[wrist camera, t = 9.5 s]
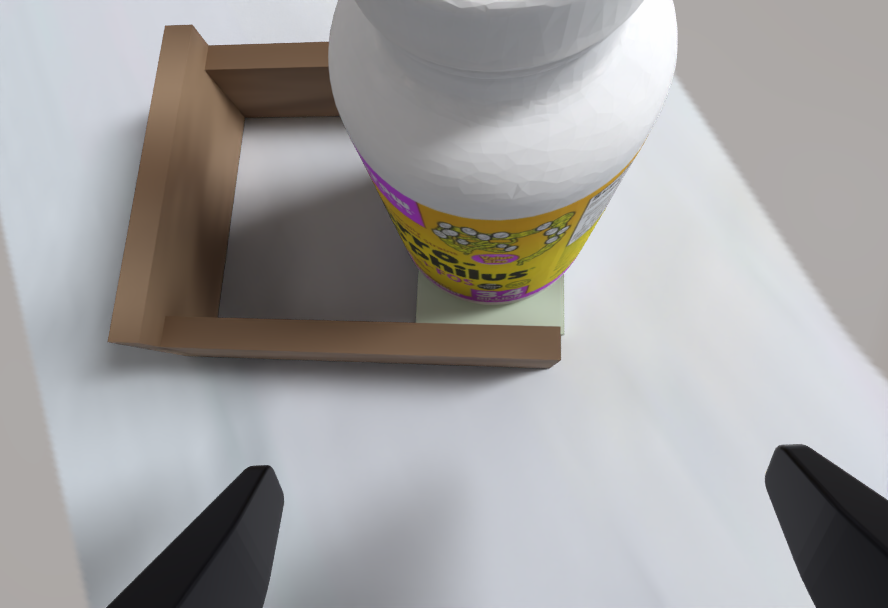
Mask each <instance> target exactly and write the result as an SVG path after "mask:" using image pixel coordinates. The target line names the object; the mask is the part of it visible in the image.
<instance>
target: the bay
mask: <svg viewBox="0 0 888 608" xmlns="http://www.w3.org/2000/svg"><path fill="white" fill-rule="evenodd" d="M328 51H329V42H305V43H273V44H241V45H208V44H207V43H206V42H205V40H204V39H203V38H202V36H201V35H200V34H199V33H198V31H197V30H196V29H195V27H194V26H193V25H171V26H165V29H164V34H163V40H162V45H161V51H160V56H159V62H158V67H157V73H156V78H155V84H154V89H153V95H152V100H151V106H150V111H149V117H148V122H147V128H146V133H145V139H144V144H143V150H142V155H141V161H140V166H139V172H138V177H137V183H136V188H135V194H134V199H133V205H132V210H131V216H130V221H129V227H128V232H127V238H126V243H125V249H124V254H123V260H122V265H121V271H120V276H119V282H118V287H117V293H116V298H115V304H114V309H113V315H112V320H111V326H110V331H109V337H108V342H110V343H116V344H122V345H127V346H133V347H139V348H144V349H150V350H155V351H161V352H167V353H172V354H178V355H184V356H199V357H228V358H257V359H286V360H315V361H344V362H373V363H403V364H432V365H461V366H490V367H519V368H548V369H549V368H551V367H552V366H553V365H555V364H556V363H558V362H559V361H560V360H561V335H564V274H563V275H562V276H561V277H560V278H559V279H558V280H557V281H556V282H555V283H553V284H552V285H551V286H550V287H548V288H547V289H545V290H544V291H542V292H540V293H538V294H536V295H534V296H532V297H530V298H527V299H524V300H521V301H518V302H514V303H509V304H501V305H483V304H476V303H471V302H468V301H464V300H461V299H458V298H456V297H453V296H451V295H449V294H447V293H445V292H444V291H442V290H441V289H439V288H438V287H436V286H435V285H434V284H432V283H431V282H430V281H429V280H428V279H427V278H426V277H425V276H424V275H423V274H422V273H421V271H420V270H419V269H418V288H417V306H416V323H408V322H369V321H331V320H292V319H254V318H217V317H218V310H219V303H220V295H221V288H222V281H223V274H224V266H225V259H226V252H227V245H228V237H229V230H230V223H231V216H232V208H233V201H234V194H235V187H236V179H237V172H238V165H239V158H240V150H241V143H242V136H243V128H244V121H245V118H256V117H318V116H340V114H339V112H338V109H337V107H336V104H335V100H334V96H333V93H332V87H331V82H330V75H329V62H328Z"/></svg>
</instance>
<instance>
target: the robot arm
mask: <svg viewBox="0 0 888 608" xmlns="http://www.w3.org/2000/svg"><path fill="white" fill-rule="evenodd" d="M765 485H766V489H767V492H768V495H769V497H770V500H771V502H772V505H773V507H774V510H775V513H776V515H777V518H778V520H779V523H780V525H781V528H782V531H783V533H784V536H785V538H786V541H787V544H788V546H789V549H790V551H791V554H792V556H793V559H794V562H795V564H796V566H797V569H798V571H799V574H800V576H801V578H802V580H803V582H804V584H805V587H806V589H807V591H808V593H809V595H810V597H811V599H812V601H813V603H814V605H815V607H816V608H888V500H887V499H885V498H884V497H882V496H881V495H879V494H878V493H876V492H875V491H874V490H872V489H871V488H869V487H868V486H866V485H865V484H863V483H862V482H860V481H859V480H857V479H856V478H854V477H853V476H851V475H850V474H848V473H847V472H845V471H844V470H843V469H841V468H840V467H838V466H837V465H835V464H834V463H832V462H831V461H829V460H828V459H826V458H825V457H823V456H822V455H820V454H819V453H817V452H816V451H814V450H813V449H811V448H810V447H808V446H806V445H802V444H790V445H779V446H778V447H777V448H776V449H775V451H774V453H773V456H772V458H771V461H770V464H769V466H768V469H767V472H766V475H765ZM283 506H284V494H283V491H282V488H281V486H280V484H279V481H278V479H277V477H276V474H275V472H274V470H273V468H272V467H271V466H269V465H259V466H250V467H248V468H246V469H245V470H244V471H243V472H242V473H241V474H240V475H239V476H238V477H237V478H236V479H235V480H234V481H233V482H232V483H231V484H230V485H229V486H228V487H227V488H226V489H225V490H224V491H223V492H222V493H221V494H220V495H219V496H218V497H217V498H216V499H215V500H214V501H213V502H212V503H211V504H210V505H209V506H208V507H207V508H206V509H205V510H204V511H203V512H202V513H201V514H200V515H199V516H198V517H197V518H196V519H195V520H194V521H193V522H192V523H191V524H190V525H189V526H188V527H187V528H186V529H185V530H184V531H183V532H182V533H181V534H180V535H179V536H178V537H177V538H176V539H175V540H174V541H173V542H172V543H171V544H170V545H169V546H168V547H167V548H166V549H165V550H164V551H163V552H162V553H161V554H160V555H158V556H157V557H156V558H155V559H154V560H153V561H152V562H151V563H150V564H149V565H148V566H147V567H146V568H145V569H144V570H143V571H142V572H141V573H140V574H139V575H138V576H137V577H136V578H135V579H134V580H133V581H132V582H131V583H130V584H129V585H128V586H127V587H126V588H125V589H124V590H123V591H122V592H121V593H120V594H119V595H118V596H117V597H116V598H115V599H114V600H113V601H112V602H111V603H110V604H109V605H108V606H107V607H106V608H263V604H264V601H265V597H266V593H267V589H268V585H269V580H270V576H271V571H272V565H273V560H274V554H275V549H276V544H277V538H278V533H279V528H280V522H281V517H282V512H283Z"/></svg>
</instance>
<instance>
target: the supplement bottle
mask: <svg viewBox="0 0 888 608" xmlns="http://www.w3.org/2000/svg"><path fill="white" fill-rule="evenodd" d="M676 58H677V23H676V15H675V8H674V5H673V0H338V3H337V6H336V9H335V12H334V16H333V21H332V25H331V30H330V37H329V51H328V62H329V75H330V82H331V87H332V93H333V96H334V100H335V104H336V107H337V109H338V112H339V114H340V117H341V119H342V121H343V124H344V126H345V129H346V130H347V132H348V134H349V136H350V139H351V141H352V142H353V144H354V146H355V148H356V150H357V152H358V154H359V156H360V158H361V160H362V162H363V164H364V166H365V168H366V170H367V171H368V173H369V175H370V177H371V179H372V181H373V183H374V185H375V187H376V189H377V191H378V193H379V195H380V197H381V199H382V201H383V203H384V205H385V208H386V209H387V211H388V213H389V215H390V217H391V219H392V221H393V223H394V225H395V227H396V229H397V231H398V233H399V235H400V237H401V239H402V241H403V243H404V245H405V247H406V249H407V251H408V253H409V255H410V256H411V258H412V260H413V261H414V263H415V264H416V266H417V267H418V269H419V270H420V271H421V273H422V274H423V275H424V276H425V277H426V278H427V279H428V280H429V281H430V282H431V283H432V284H434V285H435V286H436V287H438V288H439V289H441V290H442V291H444V292H445V293H447V294H449V295H451V296H453V297H456V298H458V299H461V300H464V301H468V302H471V303H476V304H483V305H501V304H509V303H514V302H518V301H521V300H524V299H527V298H530V297H532V296H534V295H536V294H538V293H540V292H542V291H544V290H545V289H547V288H548V287H550V286H551V285H552V284H553V283H555V282H556V281H557V280H558V279H559V278H560V277H561V276H562V275H563V274H564V273H565V272H566V270H567V269H568V268H569V267H570V265H571V264H572V263H573V262H574V260H575V259H576V257H577V256H578V254H579V252H580V251H581V249H582V247H583V246H584V244H585V242H586V241H587V239H588V237H589V236H590V234H591V232H592V231H593V229H594V228H595V226H596V224H597V222H598V220H599V219H600V217H601V216H602V214H603V212H604V211H605V209H606V207H607V205H608V203H609V202H610V200H611V198H612V196H613V194H614V193H615V191H616V189H617V187H618V186H619V184H620V182H621V181H622V179H623V177H624V176H625V174H626V172H627V171H628V169H629V167H630V166H631V164H632V162H633V161H634V159H635V157H636V156H637V154H638V152H639V151H640V149H641V147H642V146H643V144H644V142H645V140H646V139H647V137H648V135H649V133H650V131H651V129H652V127H653V125H654V124H655V122H656V120H657V118H658V116H659V114H660V112H661V110H662V108H663V105H664V103H665V101H666V98H667V95H668V92H669V89H670V86H671V83H672V79H673V75H674V71H675V67H676Z"/></svg>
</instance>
